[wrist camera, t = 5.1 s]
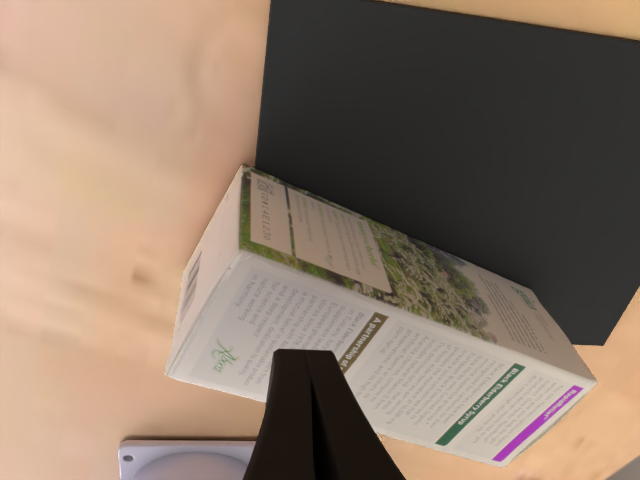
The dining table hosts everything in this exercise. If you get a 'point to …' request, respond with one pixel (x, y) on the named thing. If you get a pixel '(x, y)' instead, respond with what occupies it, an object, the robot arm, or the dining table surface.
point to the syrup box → (372, 323)
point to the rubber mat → (468, 141)
